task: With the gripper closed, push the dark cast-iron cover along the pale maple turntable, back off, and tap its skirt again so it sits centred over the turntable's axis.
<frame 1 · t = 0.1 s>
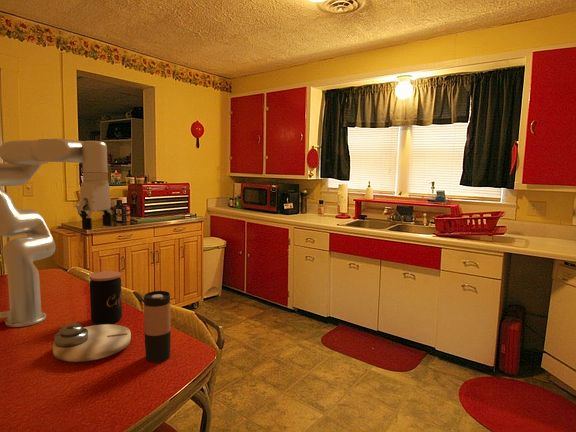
hand: (97, 227, 129), 37 cm above the table, tool pointing down, fingers open, 9 cm apart
turntable base: (93, 349, 120), on the table
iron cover: (71, 341, 117), point 4 cm above the table, touching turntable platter
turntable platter: (93, 341, 119), point 3 cm above the table, hinge at 0.0°, touching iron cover
travel mug: (158, 358, 115), on the table
coffee jar: (106, 321, 142), on the table
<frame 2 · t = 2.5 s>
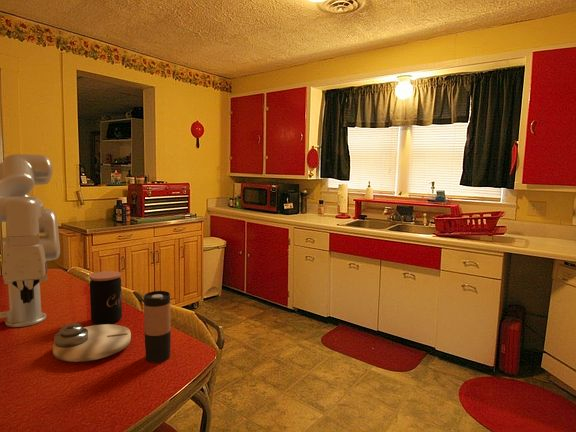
hand: (27, 301, 111), 18 cm above the table, tool pointing down, fingers closed
nothing on the table moved.
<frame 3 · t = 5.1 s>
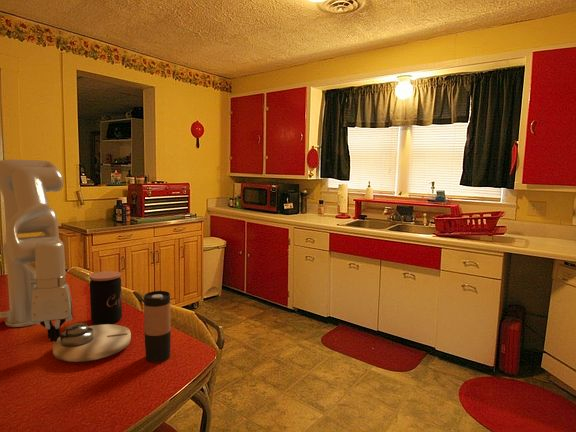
hand: (54, 339, 115), 5 cm above the table, tool pointing down, fingers closed
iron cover: (77, 340, 117), point 4 cm above the table, touching gripper, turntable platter
everything else where it was.
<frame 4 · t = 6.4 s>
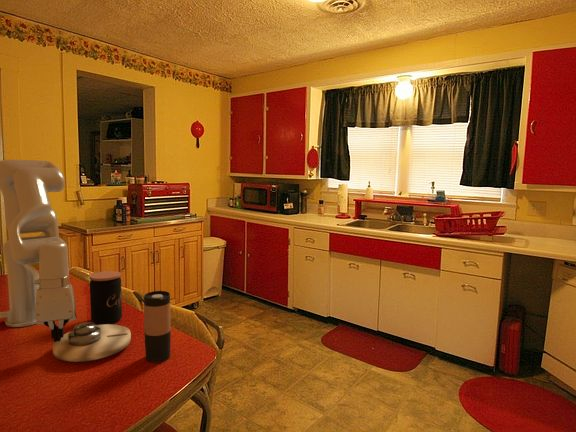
hand: (57, 339, 115), 5 cm above the table, tool pointing down, fingers closed
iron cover: (85, 339, 118), point 4 cm above the table, touching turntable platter
everything else where it was.
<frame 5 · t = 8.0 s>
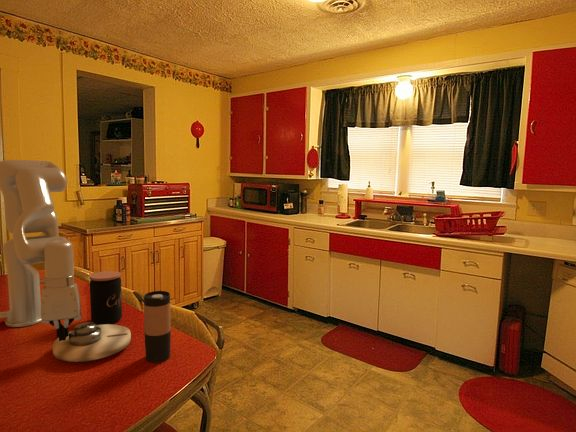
hand: (63, 338, 116), 5 cm above the table, tool pointing down, fingers closed
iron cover: (85, 339, 118), point 4 cm above the table, touching gripper, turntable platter
everything else where it was.
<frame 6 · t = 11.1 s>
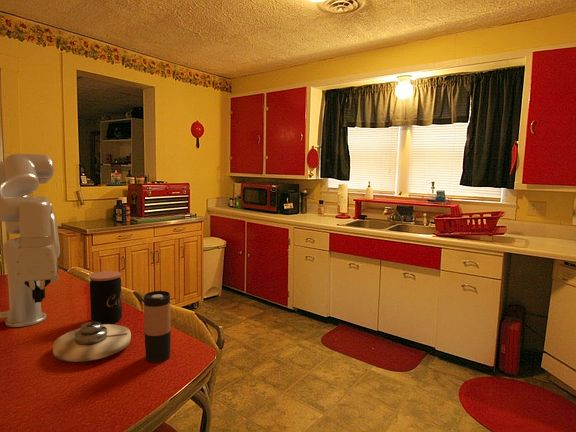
hand: (39, 300, 113), 17 cm above the table, tool pointing down, fingers closed
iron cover: (91, 339, 119), point 4 cm above the table, touching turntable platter
everything else where it was.
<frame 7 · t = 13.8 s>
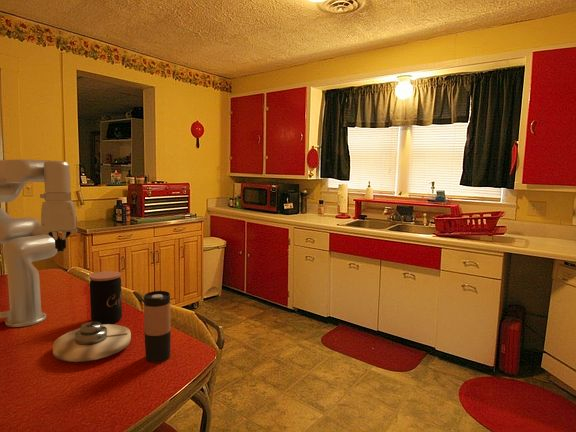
hand: (60, 250, 129), 29 cm above the table, tool pointing down, fingers closed
nothing on the table moved.
at the end: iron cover 0.6 cm from the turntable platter (horizontally); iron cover tilted 0°; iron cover point 3.7 cm above the table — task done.
